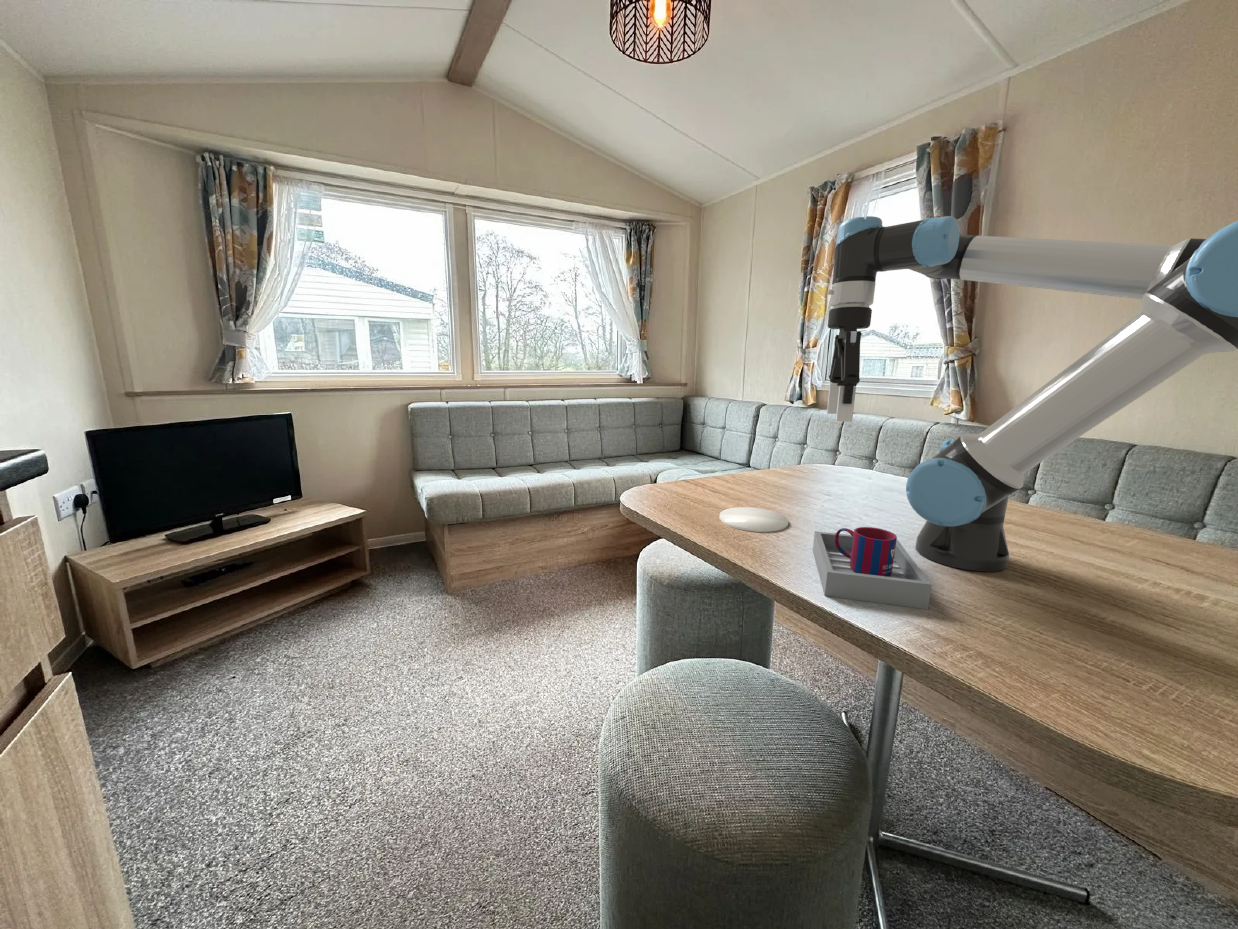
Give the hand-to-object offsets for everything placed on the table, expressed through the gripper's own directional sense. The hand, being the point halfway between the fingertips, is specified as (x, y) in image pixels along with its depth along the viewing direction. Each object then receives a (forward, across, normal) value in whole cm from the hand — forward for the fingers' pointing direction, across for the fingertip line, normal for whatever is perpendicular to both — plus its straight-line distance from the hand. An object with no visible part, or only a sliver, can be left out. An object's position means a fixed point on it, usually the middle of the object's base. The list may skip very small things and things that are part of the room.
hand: (838, 417), depth 97 cm
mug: (+25, +15, +4) cm, 30 cm away
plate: (+27, -10, -15) cm, 33 cm away
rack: (+27, +16, +4) cm, 31 cm away
